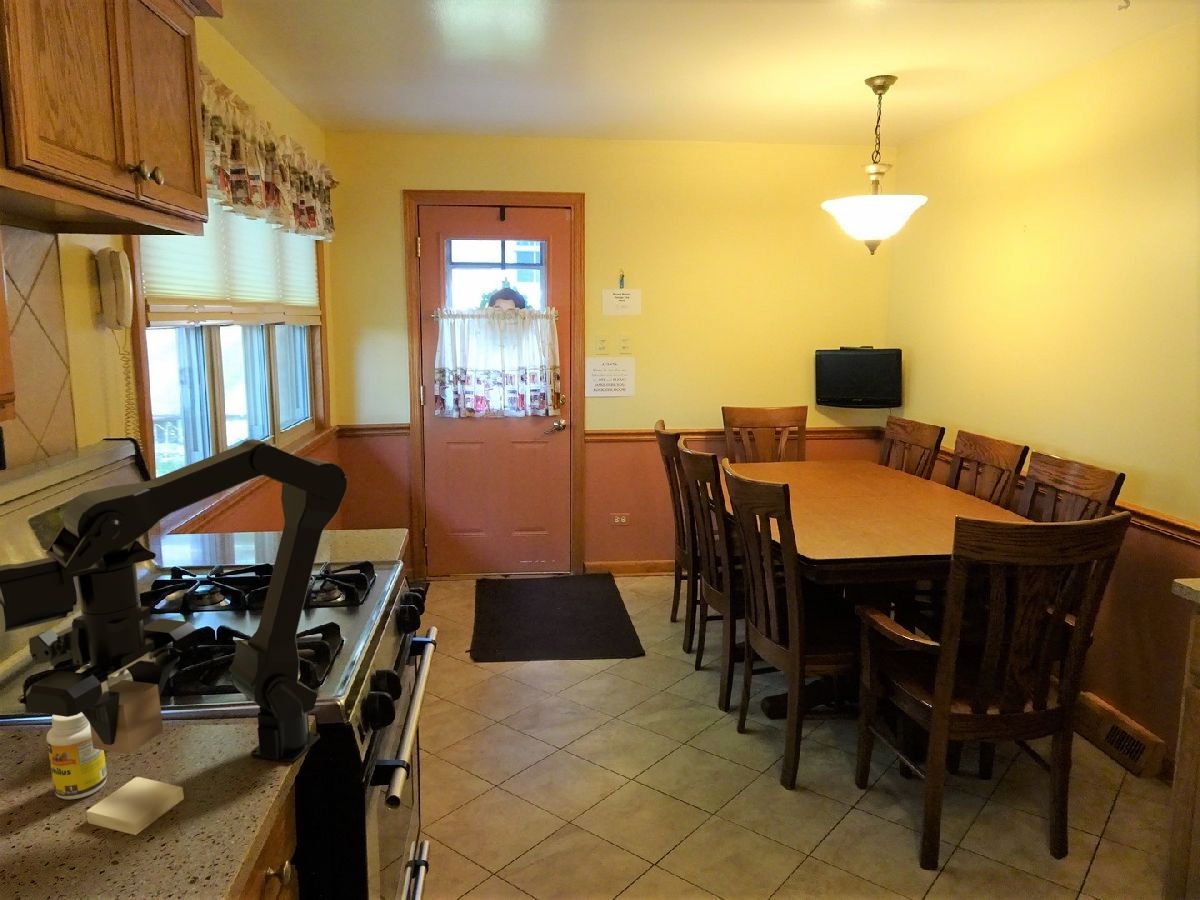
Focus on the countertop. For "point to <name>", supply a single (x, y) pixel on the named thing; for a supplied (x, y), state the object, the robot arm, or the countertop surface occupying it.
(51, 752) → the supplement bottle
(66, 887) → the countertop surface
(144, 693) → the walnut cube
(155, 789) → the birch block
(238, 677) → the robot arm
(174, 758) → the countertop surface
